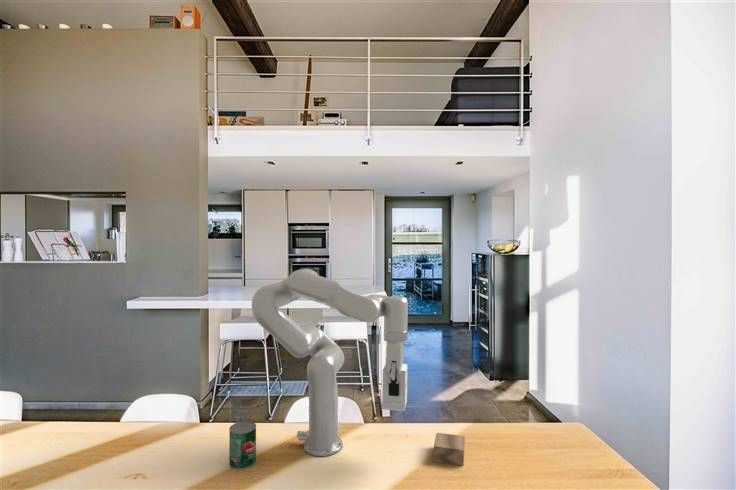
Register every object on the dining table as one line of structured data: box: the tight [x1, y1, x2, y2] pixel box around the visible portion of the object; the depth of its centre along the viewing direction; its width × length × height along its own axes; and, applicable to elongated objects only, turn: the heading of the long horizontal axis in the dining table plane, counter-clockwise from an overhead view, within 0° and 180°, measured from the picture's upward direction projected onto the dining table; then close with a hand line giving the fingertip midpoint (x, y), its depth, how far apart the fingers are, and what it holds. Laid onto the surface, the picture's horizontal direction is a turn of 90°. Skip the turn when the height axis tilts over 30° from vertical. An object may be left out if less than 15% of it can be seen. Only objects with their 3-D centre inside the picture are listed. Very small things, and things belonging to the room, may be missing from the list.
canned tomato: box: [228, 420, 257, 471], centre depth 121 cm, size 8×8×11 cm
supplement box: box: [381, 363, 408, 412], centre depth 126 cm, size 7×7×13 cm
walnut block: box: [433, 432, 466, 467], centre depth 125 cm, size 9×9×5 cm
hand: (395, 390), depth 126 cm, fingers closed on supplement box, 7 cm apart
